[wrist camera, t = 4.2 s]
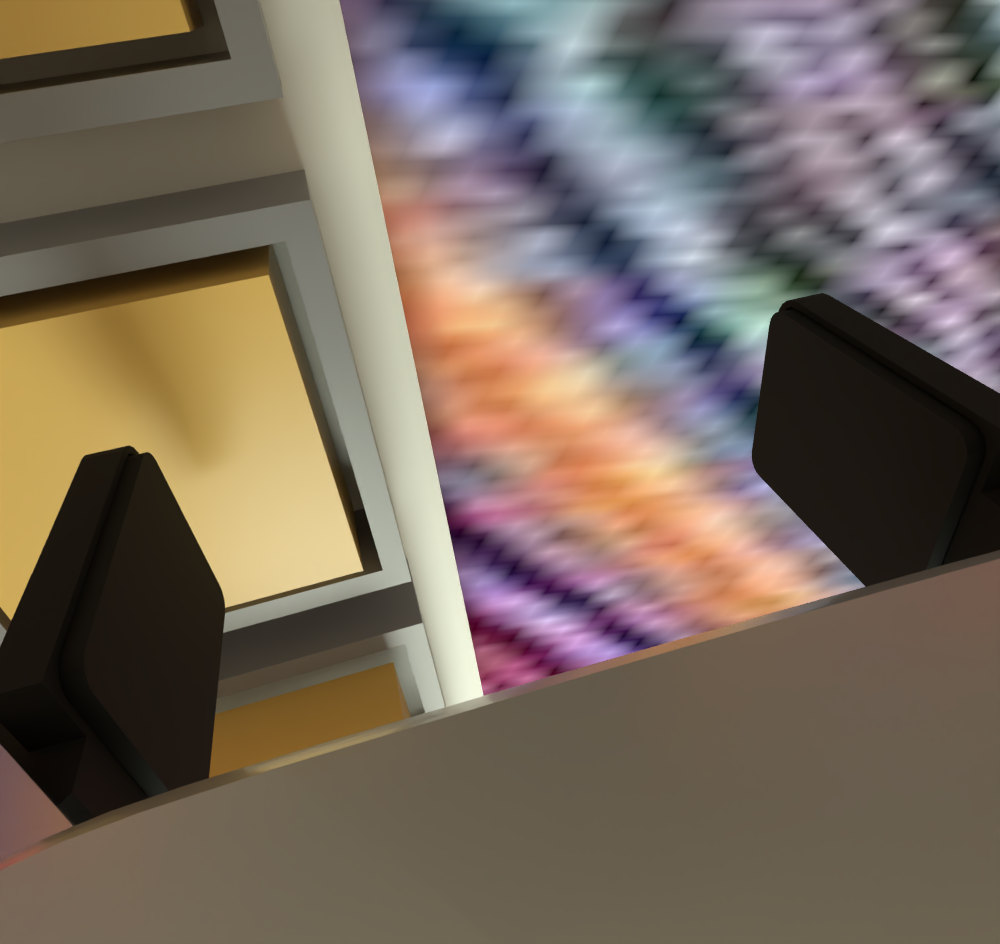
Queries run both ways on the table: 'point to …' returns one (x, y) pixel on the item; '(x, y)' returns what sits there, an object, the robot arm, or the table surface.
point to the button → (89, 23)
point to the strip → (309, 284)
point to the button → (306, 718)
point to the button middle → (176, 417)
